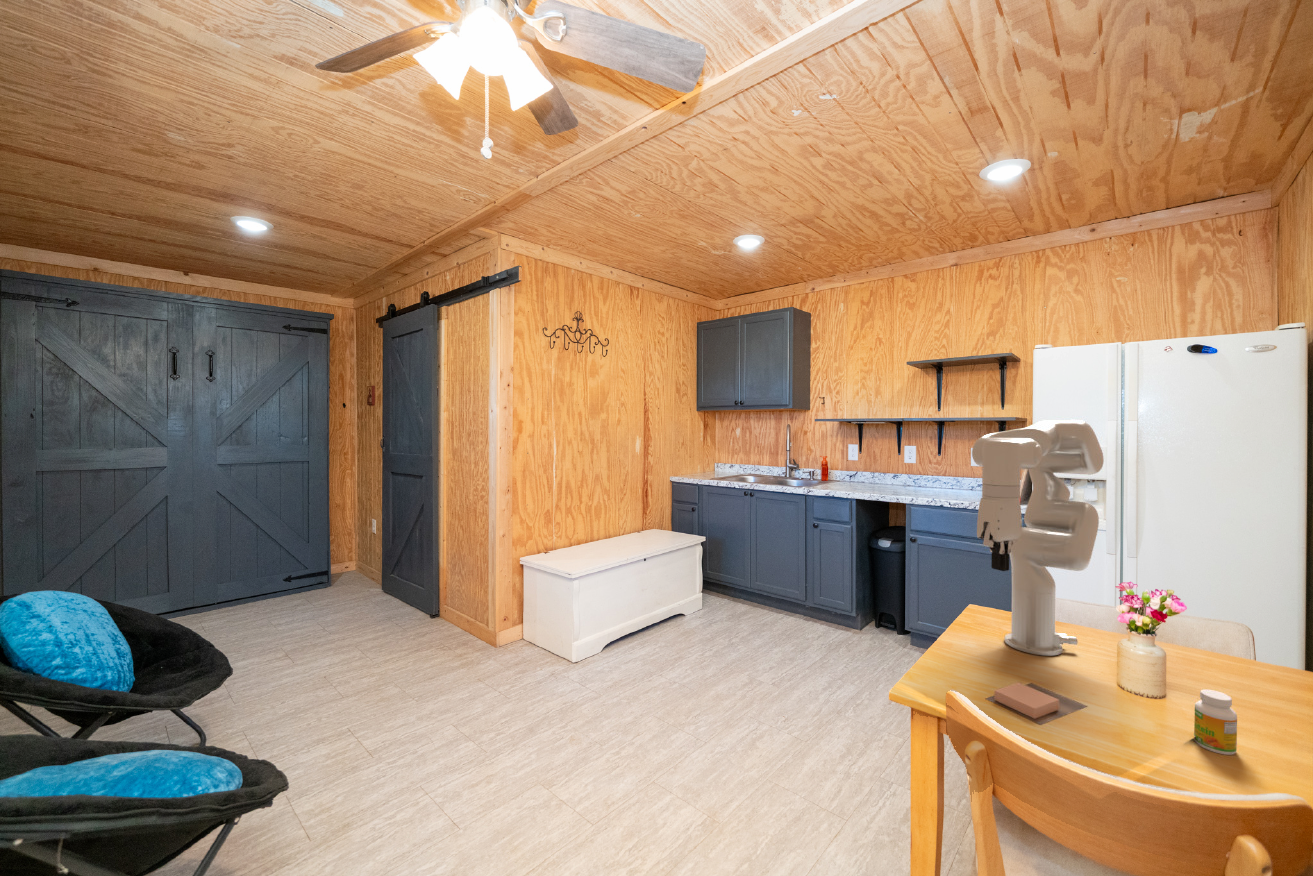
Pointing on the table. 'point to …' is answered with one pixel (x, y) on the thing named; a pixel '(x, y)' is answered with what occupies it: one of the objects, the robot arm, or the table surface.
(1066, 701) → the board
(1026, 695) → the tile
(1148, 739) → the table surface
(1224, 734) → the supplement bottle
